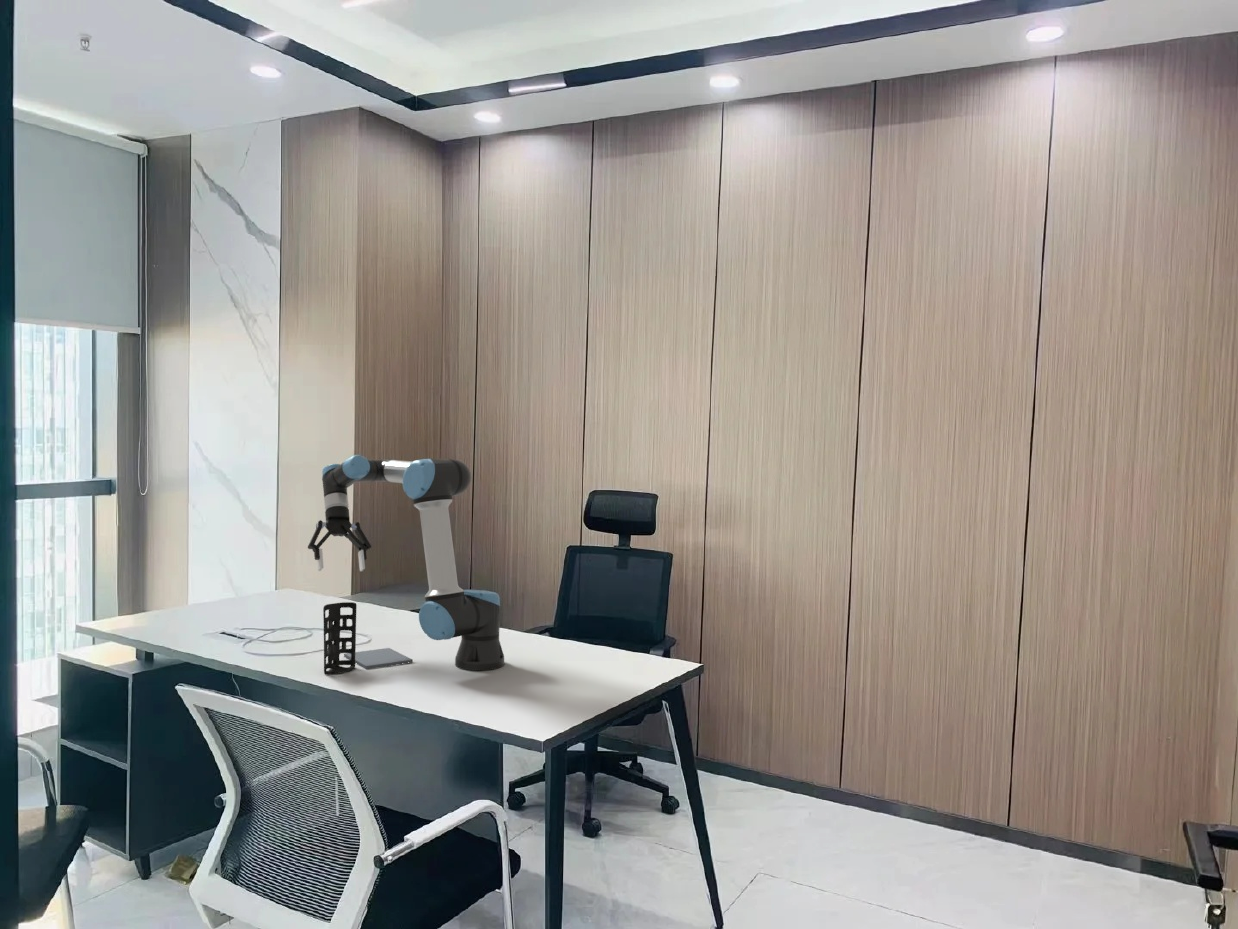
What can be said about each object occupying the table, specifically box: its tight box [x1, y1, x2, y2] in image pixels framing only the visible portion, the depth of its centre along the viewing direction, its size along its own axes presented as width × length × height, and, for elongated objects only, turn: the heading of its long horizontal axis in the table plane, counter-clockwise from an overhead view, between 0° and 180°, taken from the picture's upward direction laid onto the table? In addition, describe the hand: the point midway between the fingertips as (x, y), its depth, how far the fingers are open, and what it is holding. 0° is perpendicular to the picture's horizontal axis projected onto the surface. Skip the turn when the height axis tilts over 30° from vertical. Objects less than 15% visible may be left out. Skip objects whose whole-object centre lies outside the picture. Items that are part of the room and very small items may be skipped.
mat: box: [343, 647, 414, 670], centre depth 279 cm, size 18×15×1 cm
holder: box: [322, 601, 358, 675], centre depth 265 cm, size 11×8×20 cm
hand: (342, 569), depth 287 cm, fingers open, 13 cm apart
